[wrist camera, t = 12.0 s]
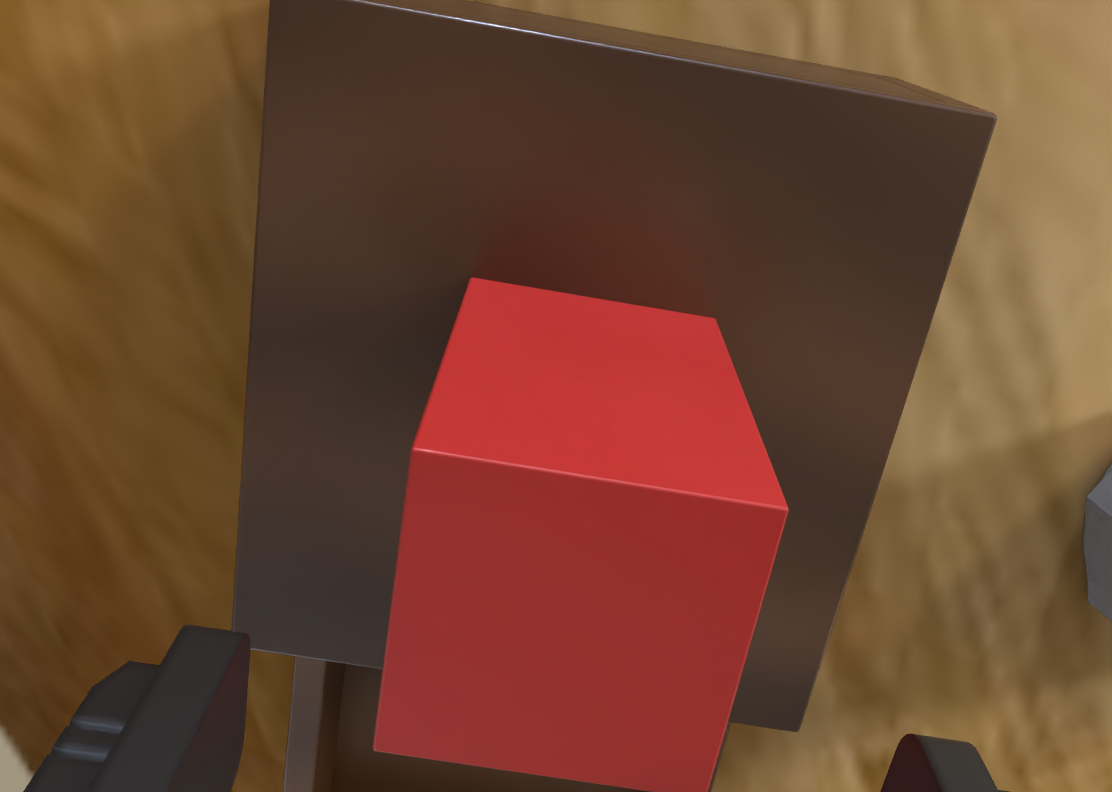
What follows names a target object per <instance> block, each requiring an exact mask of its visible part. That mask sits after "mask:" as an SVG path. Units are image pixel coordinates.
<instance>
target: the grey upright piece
mask: <svg viewBox="0 0 1112 792" xmlns="http://www.w3.org/2000/svg"><path fill="white" fill-rule="evenodd" d="M1083 550H1084V557H1085V564H1086V571H1087V575H1088V603H1090V604H1091V605H1092V606H1093V607H1095V608H1096V609H1097V610H1098V611H1100V612H1101V613H1102V614H1103V615H1105V616H1106V617H1107V618H1108V619H1110V620H1111V621H1112V464H1111V465H1110V466H1109V467H1108V469H1107V471H1106V472H1105V474H1104V476H1103V478H1102V479H1101V481H1100V483H1099V484H1098V485H1097V486H1096V487H1095V488H1094V489H1093V490H1092V491H1091V492H1090V493H1089V494H1088V495H1087V497H1086V515H1085V527H1084V537H1083Z"/></svg>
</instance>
